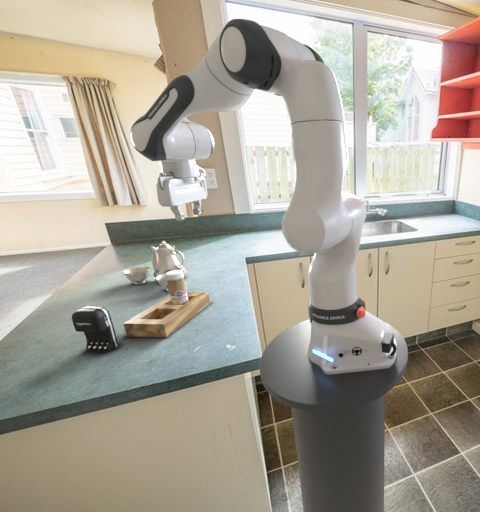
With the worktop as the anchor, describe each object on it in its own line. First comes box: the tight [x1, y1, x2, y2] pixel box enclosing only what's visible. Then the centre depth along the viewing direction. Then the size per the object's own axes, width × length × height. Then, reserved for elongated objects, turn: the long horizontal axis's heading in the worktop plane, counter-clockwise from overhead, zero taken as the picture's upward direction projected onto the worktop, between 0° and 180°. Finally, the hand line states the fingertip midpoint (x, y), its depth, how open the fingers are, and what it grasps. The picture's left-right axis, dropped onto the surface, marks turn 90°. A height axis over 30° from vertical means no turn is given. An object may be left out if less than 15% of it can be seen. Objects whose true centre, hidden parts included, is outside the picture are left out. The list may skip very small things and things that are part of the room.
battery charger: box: [71, 306, 120, 353], centre depth 73 cm, size 7×4×11 cm, turn 87°
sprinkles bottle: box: [165, 270, 188, 305], centre depth 92 cm, size 5×5×14 cm
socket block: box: [123, 292, 211, 338], centre depth 89 cm, size 11×20×4 cm, turn 178°
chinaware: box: [122, 240, 188, 292], centre depth 114 cm, size 28×17×17 cm, turn 76°
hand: (189, 217), depth 92 cm, fingers open, 8 cm apart
